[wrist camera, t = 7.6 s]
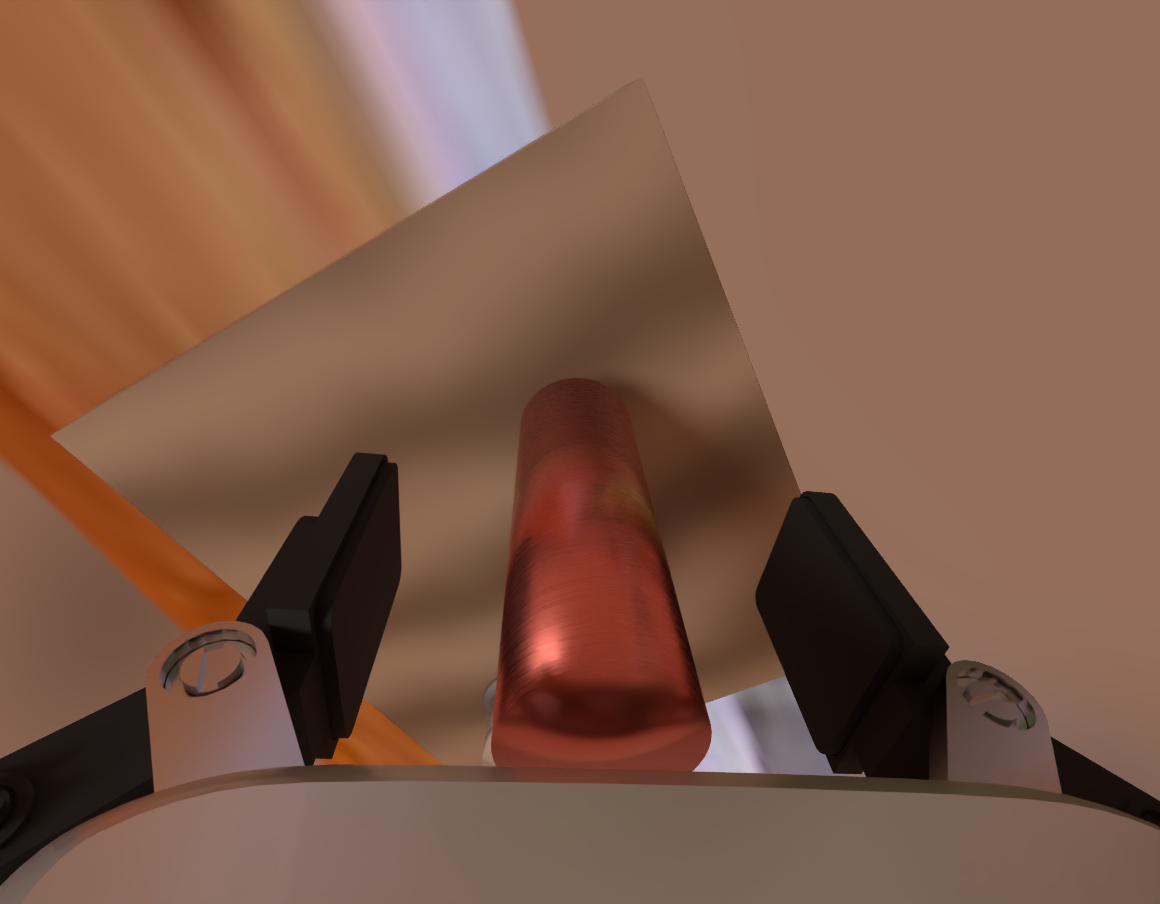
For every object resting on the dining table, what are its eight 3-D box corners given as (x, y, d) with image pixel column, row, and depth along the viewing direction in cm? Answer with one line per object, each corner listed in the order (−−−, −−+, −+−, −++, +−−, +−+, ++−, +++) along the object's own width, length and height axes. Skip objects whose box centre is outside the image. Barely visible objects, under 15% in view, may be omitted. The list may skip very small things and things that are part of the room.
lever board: (97, 405, 18) (45, 439, 16) (631, 81, 14) (643, 77, 12) (473, 745, 29) (467, 789, 27) (838, 612, 25) (862, 653, 23)
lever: (507, 356, 15) (453, 669, 7) (651, 370, 16) (774, 680, 7) (485, 738, 24) (450, 1081, 16) (577, 740, 25) (593, 1075, 16)
